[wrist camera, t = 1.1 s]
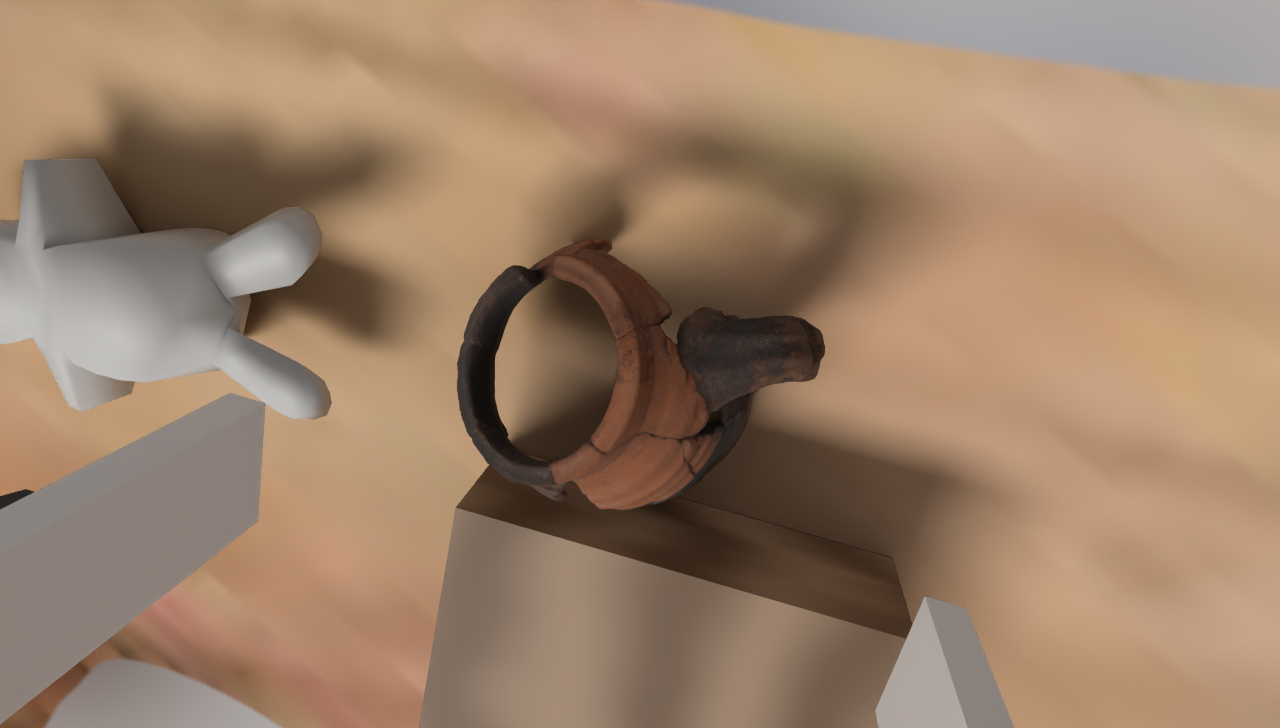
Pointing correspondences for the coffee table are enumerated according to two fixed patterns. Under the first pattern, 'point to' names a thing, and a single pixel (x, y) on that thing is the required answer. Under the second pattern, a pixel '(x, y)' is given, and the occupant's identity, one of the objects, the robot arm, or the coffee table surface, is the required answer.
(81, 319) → the bunny figurine
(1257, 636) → the coffee table surface
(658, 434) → the pottery mug
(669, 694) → the walnut block
